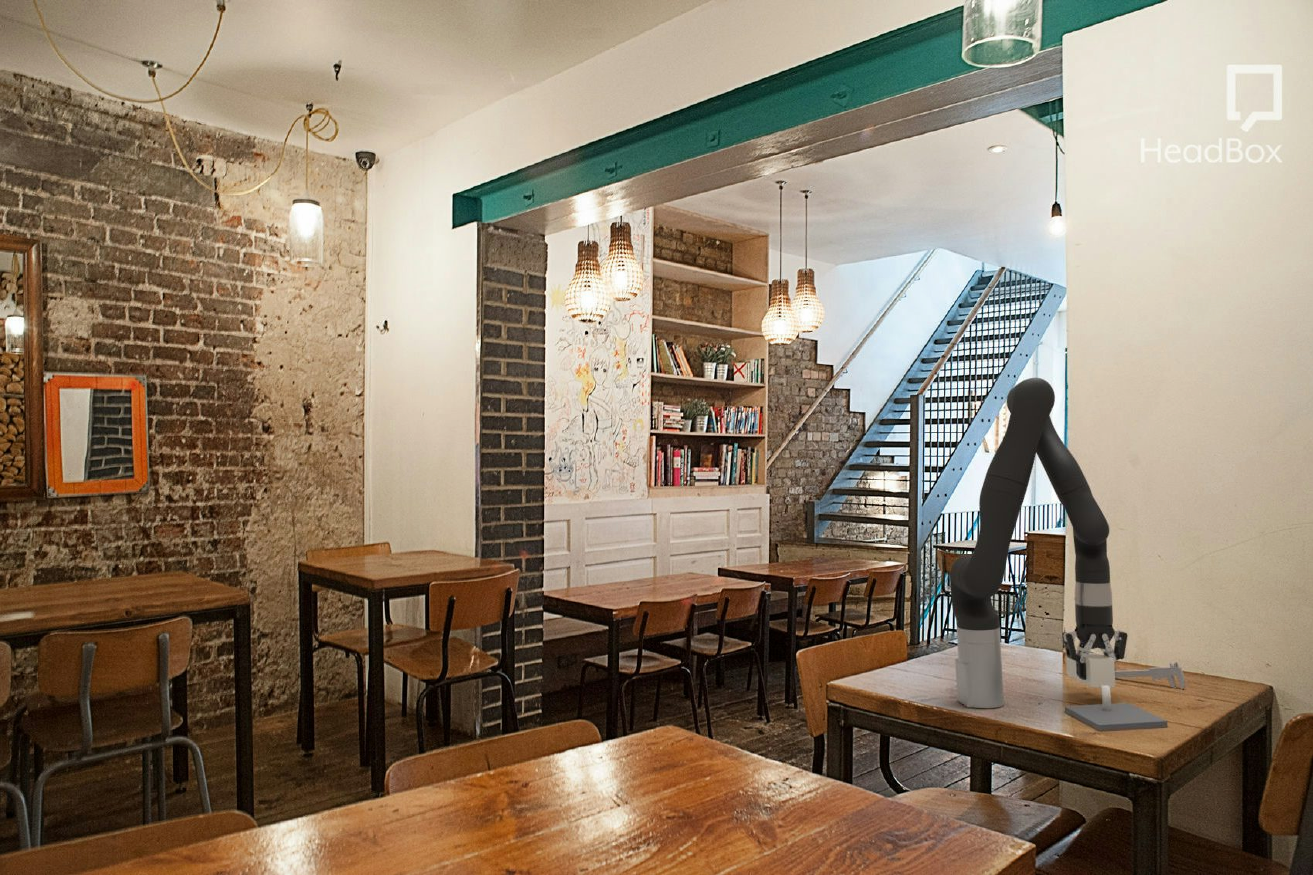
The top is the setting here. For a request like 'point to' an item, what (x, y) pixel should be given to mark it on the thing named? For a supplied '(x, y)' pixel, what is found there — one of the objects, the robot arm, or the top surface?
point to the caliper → (1157, 674)
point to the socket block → (1094, 670)
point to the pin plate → (1114, 715)
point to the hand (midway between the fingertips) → (1096, 678)
